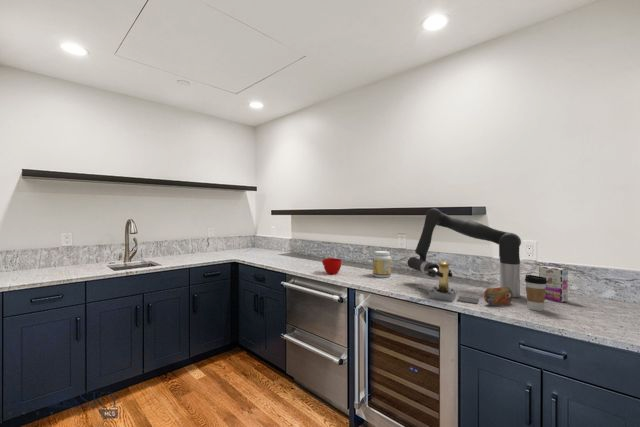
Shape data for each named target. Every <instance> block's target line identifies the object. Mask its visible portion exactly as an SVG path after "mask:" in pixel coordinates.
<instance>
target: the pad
mask: <svg viewBox="0 0 640 427" xmlns="http://www.w3.org/2000/svg"><path fill="white" fill-rule="evenodd" d="M479 300H480V299H479V297H471V296H463V295H459V296H458V297H457V300H456V302H459V301H460V302H461V303H467V304H475V305H478V303H479ZM460 302H459V303H460Z"/></svg>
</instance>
